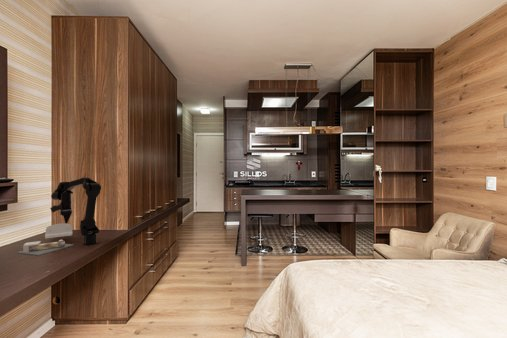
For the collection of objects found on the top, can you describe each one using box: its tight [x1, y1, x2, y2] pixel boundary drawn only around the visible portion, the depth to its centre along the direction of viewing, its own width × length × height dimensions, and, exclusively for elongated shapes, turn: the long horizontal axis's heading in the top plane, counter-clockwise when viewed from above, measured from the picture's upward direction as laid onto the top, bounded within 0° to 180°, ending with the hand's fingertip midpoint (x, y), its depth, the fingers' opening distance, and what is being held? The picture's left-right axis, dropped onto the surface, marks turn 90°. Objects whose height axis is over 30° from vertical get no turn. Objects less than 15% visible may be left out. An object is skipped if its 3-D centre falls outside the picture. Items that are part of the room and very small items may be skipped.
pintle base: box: [16, 239, 75, 257], centre depth 164 cm, size 18×21×5 cm
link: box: [33, 240, 66, 251], centre depth 164 cm, size 15×4×3 cm, turn 125°
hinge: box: [44, 222, 74, 239], centre depth 198 cm, size 17×5×10 cm, turn 123°
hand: (66, 223), depth 183 cm, fingers closed
